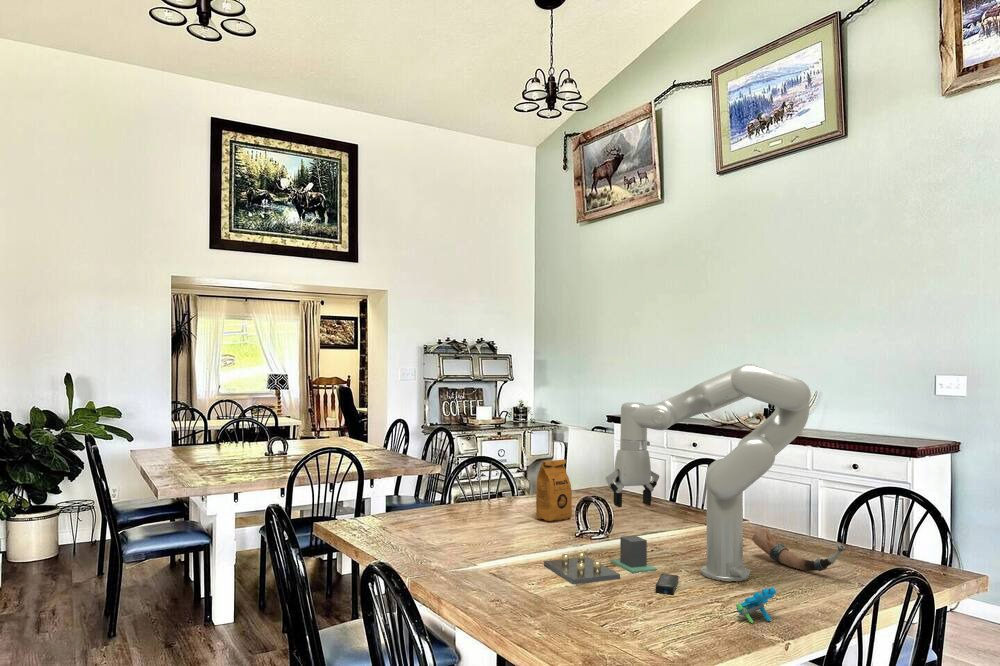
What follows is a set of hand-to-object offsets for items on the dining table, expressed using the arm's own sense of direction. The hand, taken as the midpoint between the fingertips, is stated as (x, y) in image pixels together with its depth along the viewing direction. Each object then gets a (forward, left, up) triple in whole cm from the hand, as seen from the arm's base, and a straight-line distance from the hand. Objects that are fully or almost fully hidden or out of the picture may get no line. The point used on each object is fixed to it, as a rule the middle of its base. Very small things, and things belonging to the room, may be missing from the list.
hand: (632, 505), depth 198 cm
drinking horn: (-18, -43, -17) cm, 50 cm away
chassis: (0, +17, -17) cm, 24 cm away
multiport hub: (-20, +2, -18) cm, 27 cm away
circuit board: (0, 0, -17) cm, 17 cm away
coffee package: (+61, -5, -17) cm, 63 cm away
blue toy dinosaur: (-45, -4, -17) cm, 48 cm away
